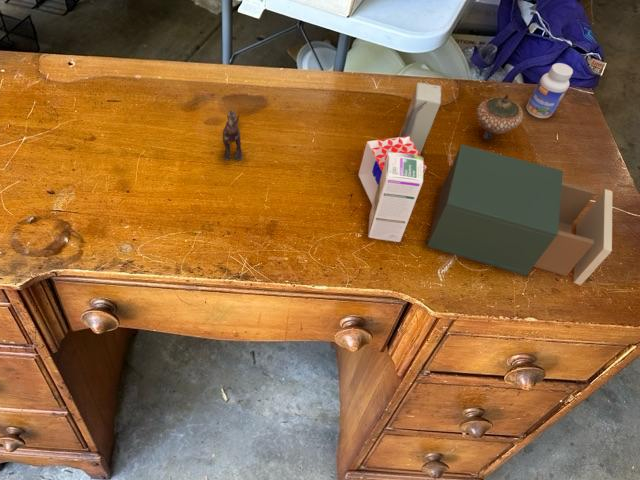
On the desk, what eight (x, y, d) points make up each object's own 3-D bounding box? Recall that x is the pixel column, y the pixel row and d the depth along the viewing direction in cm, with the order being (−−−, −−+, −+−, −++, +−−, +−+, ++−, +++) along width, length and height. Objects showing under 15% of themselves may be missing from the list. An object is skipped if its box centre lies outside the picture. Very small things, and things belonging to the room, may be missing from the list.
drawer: (590, 229, 99) (620, 192, 92) (588, 287, 92) (620, 253, 84) (493, 202, 102) (514, 165, 94) (484, 256, 95) (506, 221, 87)
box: (398, 137, 112) (416, 80, 101) (420, 141, 112) (441, 84, 101) (396, 155, 109) (415, 98, 98) (419, 159, 109) (441, 102, 98)
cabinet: (533, 214, 102) (563, 170, 93) (526, 276, 94) (557, 234, 85) (440, 189, 104) (461, 144, 96) (426, 246, 97) (447, 203, 88)
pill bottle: (521, 112, 118) (544, 70, 109) (530, 99, 120) (552, 57, 112) (547, 122, 116) (572, 81, 108) (555, 109, 118) (580, 67, 110)
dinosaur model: (223, 116, 96) (227, 68, 105) (220, 171, 105) (223, 122, 114) (247, 118, 96) (248, 70, 105) (241, 173, 105) (243, 124, 114)
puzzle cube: (413, 199, 103) (426, 166, 96) (372, 205, 102) (382, 172, 95) (397, 169, 107) (409, 135, 101) (358, 174, 106) (367, 140, 99)
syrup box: (400, 243, 97) (426, 181, 85) (366, 238, 97) (386, 175, 85) (401, 218, 100) (426, 155, 88) (367, 213, 101) (387, 150, 89)
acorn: (510, 131, 114) (533, 88, 106) (506, 157, 110) (529, 114, 101) (469, 120, 116) (489, 77, 107) (463, 145, 111) (483, 102, 103)
